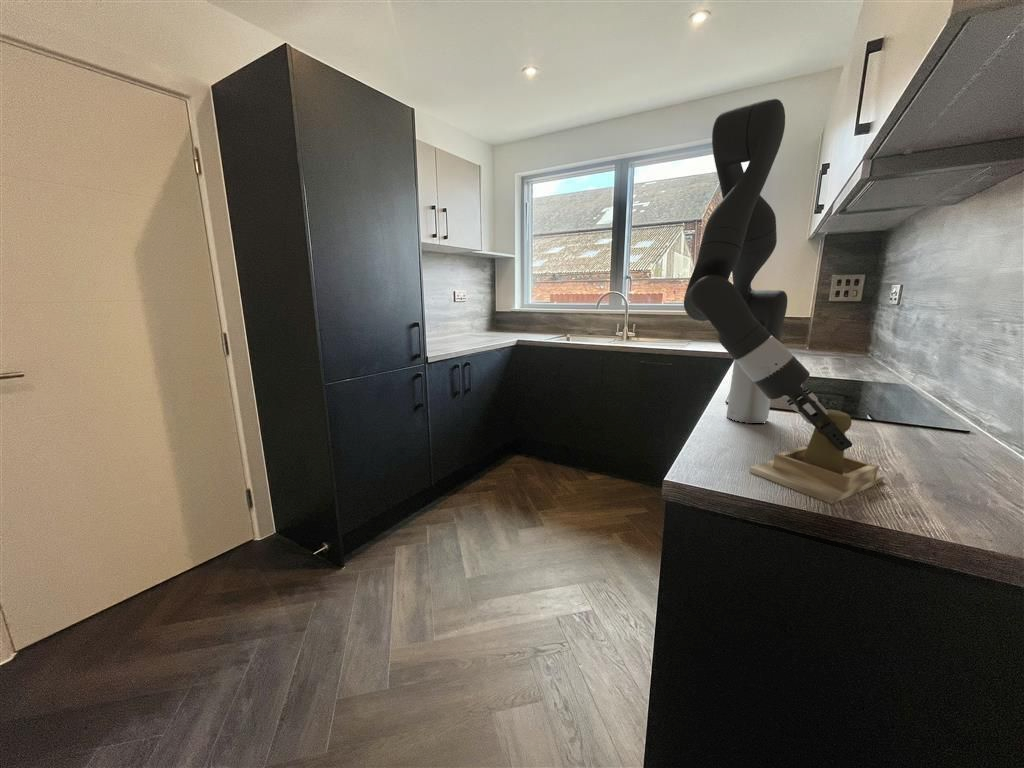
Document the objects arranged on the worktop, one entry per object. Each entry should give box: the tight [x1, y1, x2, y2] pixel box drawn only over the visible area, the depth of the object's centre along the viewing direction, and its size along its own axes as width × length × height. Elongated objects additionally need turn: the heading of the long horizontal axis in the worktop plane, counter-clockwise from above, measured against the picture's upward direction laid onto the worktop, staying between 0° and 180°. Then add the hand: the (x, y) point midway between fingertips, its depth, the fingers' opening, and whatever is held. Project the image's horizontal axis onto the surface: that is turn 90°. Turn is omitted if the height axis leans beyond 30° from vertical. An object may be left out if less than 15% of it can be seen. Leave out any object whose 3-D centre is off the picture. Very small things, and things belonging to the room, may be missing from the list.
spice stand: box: [748, 444, 885, 505], centre depth 72 cm, size 18×13×4 cm
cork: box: [802, 408, 852, 475], centre depth 70 cm, size 6×6×11 cm
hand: (841, 442), depth 69 cm, fingers open, 5 cm apart
